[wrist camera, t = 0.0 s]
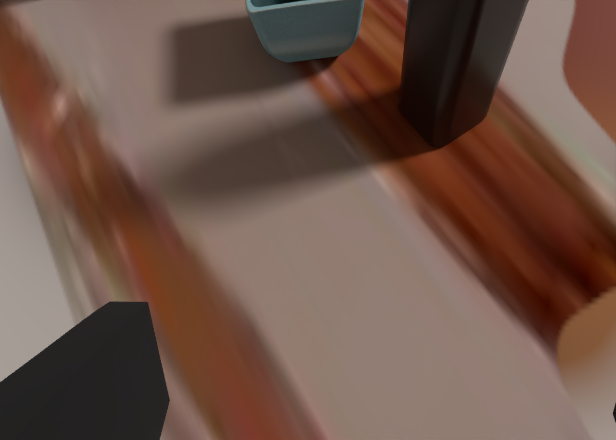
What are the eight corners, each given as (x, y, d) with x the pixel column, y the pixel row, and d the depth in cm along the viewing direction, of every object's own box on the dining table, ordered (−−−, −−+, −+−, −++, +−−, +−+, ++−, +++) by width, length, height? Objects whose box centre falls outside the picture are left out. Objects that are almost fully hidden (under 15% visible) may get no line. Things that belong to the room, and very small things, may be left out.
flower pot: (354, -9, 52) (351, -94, 44) (367, 71, 49) (366, -5, 40) (260, 5, 53) (239, -76, 44) (266, 85, 49) (246, 13, 41)
